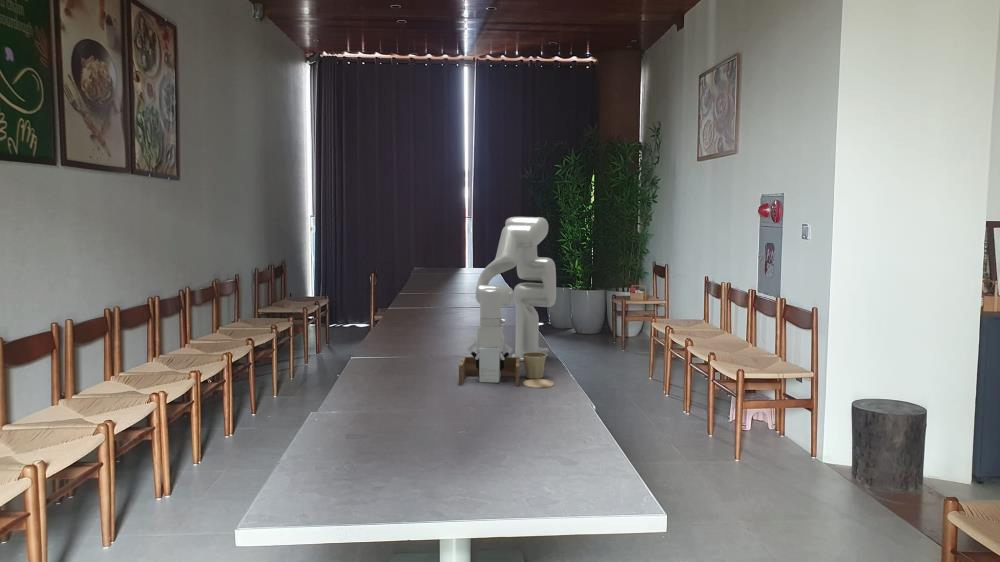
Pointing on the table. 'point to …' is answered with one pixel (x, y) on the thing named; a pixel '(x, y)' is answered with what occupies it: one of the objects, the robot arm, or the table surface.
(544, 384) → the coaster
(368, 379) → the table surface
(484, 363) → the supplement box
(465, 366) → the brown angled piece
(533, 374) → the flower pot
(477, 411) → the table surface
